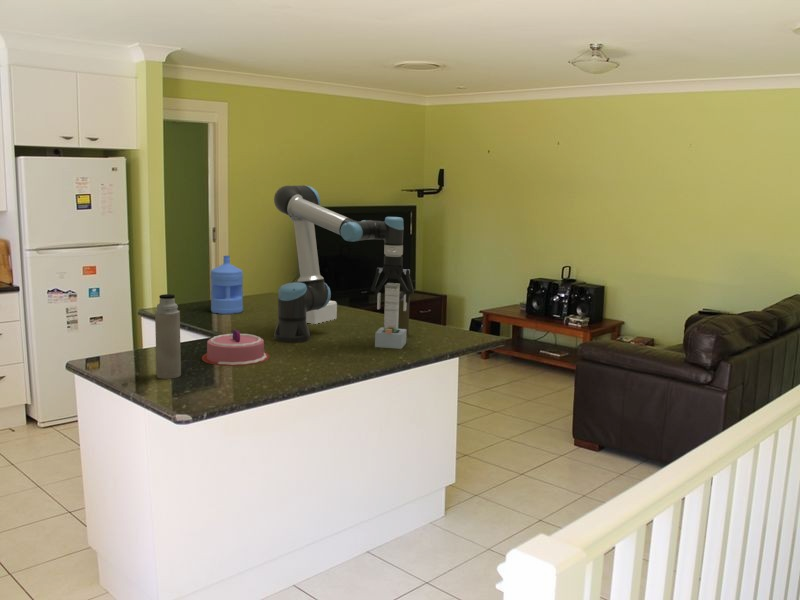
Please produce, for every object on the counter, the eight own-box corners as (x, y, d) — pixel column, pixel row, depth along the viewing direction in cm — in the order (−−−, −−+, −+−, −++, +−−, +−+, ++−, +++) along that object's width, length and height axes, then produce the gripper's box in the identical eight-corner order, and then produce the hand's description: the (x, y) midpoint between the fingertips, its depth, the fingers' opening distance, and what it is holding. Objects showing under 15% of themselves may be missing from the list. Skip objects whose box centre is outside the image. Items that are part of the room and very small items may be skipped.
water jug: (210, 309, 371) (209, 254, 366) (241, 308, 375) (241, 254, 371) (211, 315, 356) (211, 257, 351) (244, 314, 361) (244, 257, 356)
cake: (278, 362, 273) (278, 335, 271) (211, 369, 261) (210, 340, 259) (257, 348, 294) (257, 322, 292) (194, 353, 282) (194, 326, 281)
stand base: (371, 349, 296) (372, 328, 295) (378, 342, 309) (379, 322, 307) (403, 351, 294) (404, 331, 293) (408, 344, 307) (409, 324, 305)
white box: (314, 325, 341) (315, 291, 338) (284, 320, 350) (284, 287, 347) (336, 319, 356) (337, 287, 353) (307, 314, 365) (307, 283, 362)
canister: (406, 340, 315) (407, 294, 311) (382, 338, 317) (383, 293, 313) (411, 335, 325) (412, 290, 322) (388, 333, 327) (389, 289, 324)
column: (383, 331, 297) (384, 285, 294) (386, 328, 304) (388, 282, 301) (395, 332, 296) (397, 285, 293) (398, 329, 303) (400, 283, 300)
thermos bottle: (160, 372, 254) (158, 292, 249) (183, 372, 254) (182, 293, 250) (153, 378, 246) (151, 296, 241) (177, 379, 247) (175, 297, 242)
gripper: (363, 255, 293) (362, 309, 297) (419, 257, 289) (417, 312, 293) (367, 253, 301) (366, 306, 304) (422, 255, 297) (420, 309, 300)
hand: (391, 309), depth 299 cm, fingers open, 10 cm apart
